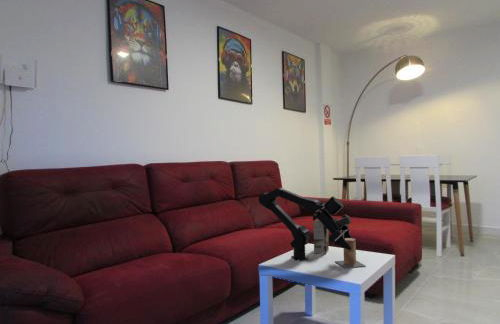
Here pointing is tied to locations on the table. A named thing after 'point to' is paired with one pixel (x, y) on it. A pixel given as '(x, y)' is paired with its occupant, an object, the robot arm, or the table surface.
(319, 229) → the coffee box
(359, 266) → the mat
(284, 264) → the table surface
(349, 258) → the walnut block
